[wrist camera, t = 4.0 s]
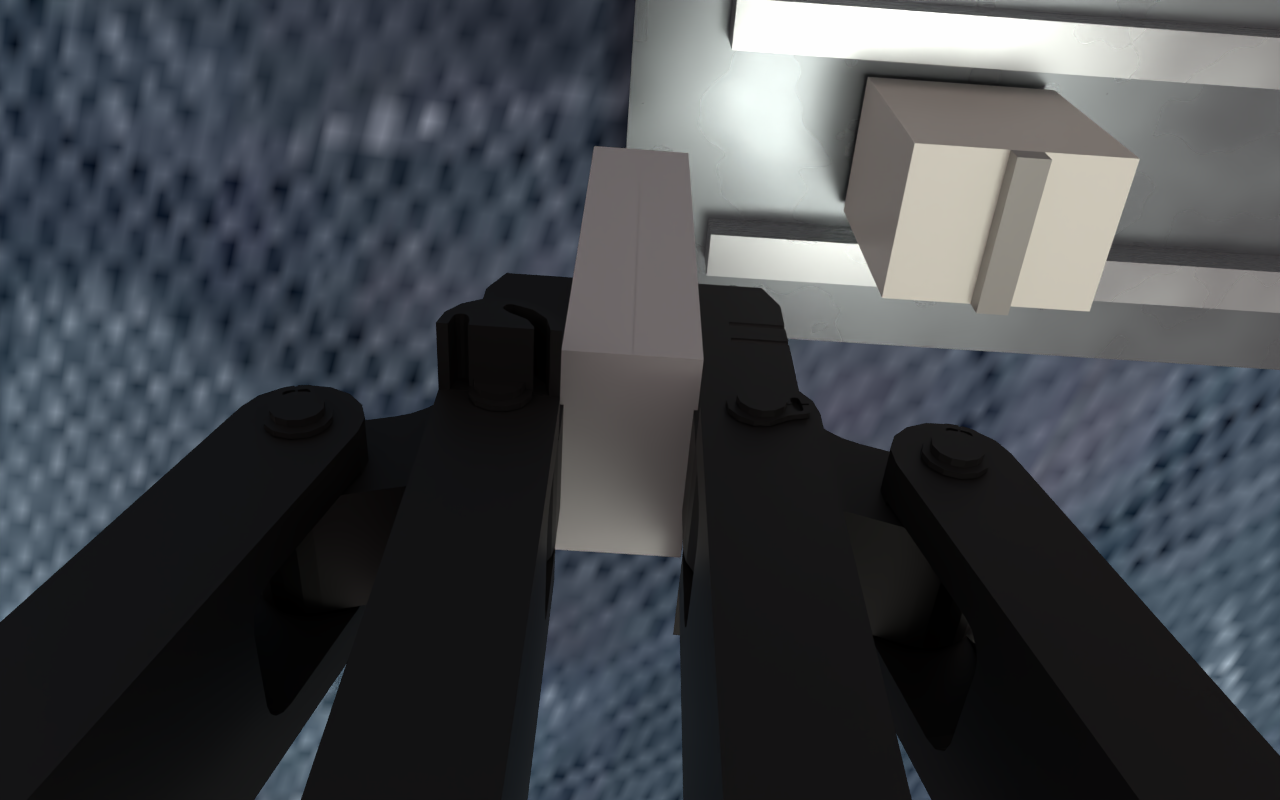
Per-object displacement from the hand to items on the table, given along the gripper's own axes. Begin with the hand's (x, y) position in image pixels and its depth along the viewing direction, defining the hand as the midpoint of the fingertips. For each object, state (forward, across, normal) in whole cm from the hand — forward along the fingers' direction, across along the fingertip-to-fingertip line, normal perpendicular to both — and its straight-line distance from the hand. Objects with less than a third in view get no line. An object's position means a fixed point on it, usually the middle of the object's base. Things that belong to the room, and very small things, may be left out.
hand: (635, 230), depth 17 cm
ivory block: (+6, +7, 0) cm, 9 cm away
